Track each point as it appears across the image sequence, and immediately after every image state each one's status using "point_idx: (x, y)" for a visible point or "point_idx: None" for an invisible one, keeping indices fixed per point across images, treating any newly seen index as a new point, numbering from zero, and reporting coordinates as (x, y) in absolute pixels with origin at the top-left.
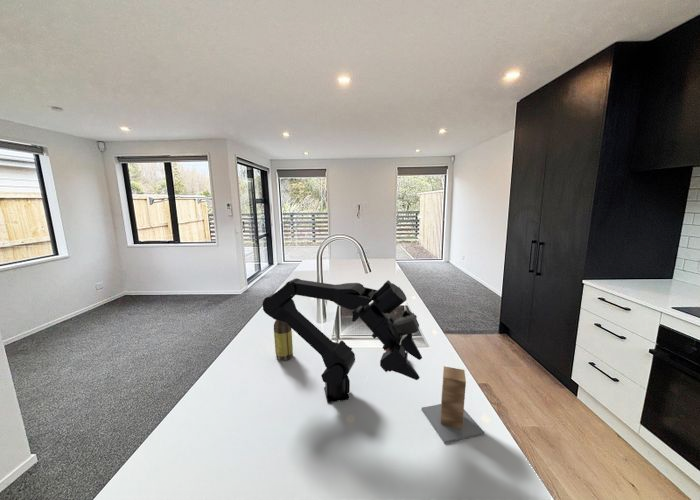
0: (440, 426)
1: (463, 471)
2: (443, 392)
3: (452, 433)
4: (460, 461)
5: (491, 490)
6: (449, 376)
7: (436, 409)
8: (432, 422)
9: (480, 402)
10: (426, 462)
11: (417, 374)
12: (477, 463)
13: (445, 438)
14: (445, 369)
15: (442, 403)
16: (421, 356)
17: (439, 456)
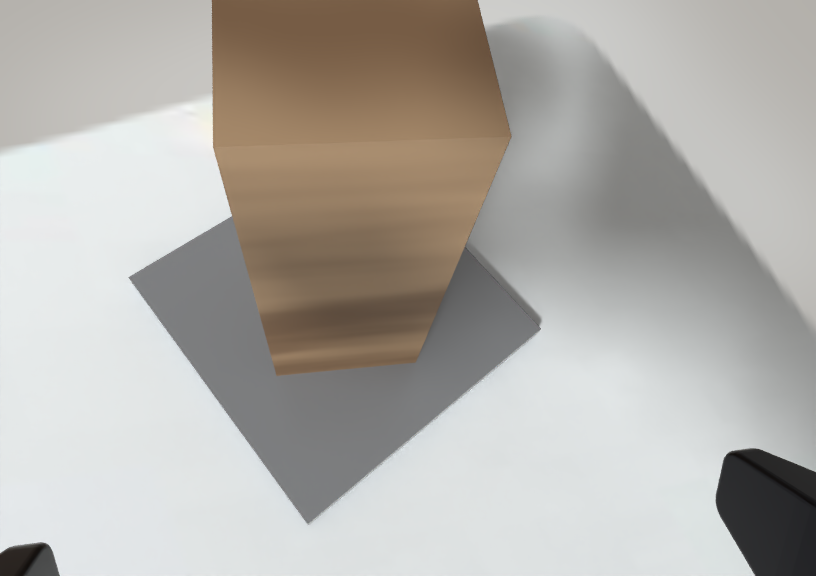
0: (436, 362)
1: (643, 242)
2: (463, 241)
3: (458, 290)
4: (598, 254)
5: (659, 147)
6: (448, 78)
7: (282, 406)
8: (427, 416)
9: (79, 147)
10: (708, 411)
11: (805, 479)
12: (563, 186)
13: (517, 325)
14: (299, 122)
15: (442, 296)
16: (16, 560)
17: (631, 351)
